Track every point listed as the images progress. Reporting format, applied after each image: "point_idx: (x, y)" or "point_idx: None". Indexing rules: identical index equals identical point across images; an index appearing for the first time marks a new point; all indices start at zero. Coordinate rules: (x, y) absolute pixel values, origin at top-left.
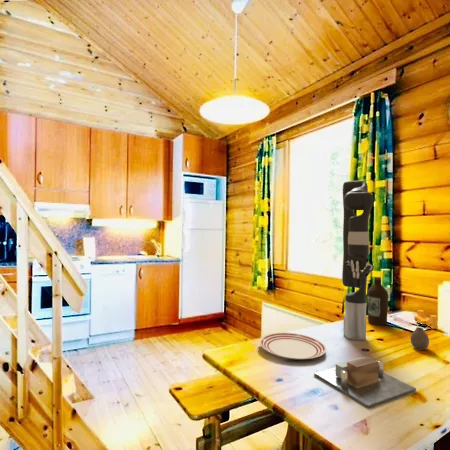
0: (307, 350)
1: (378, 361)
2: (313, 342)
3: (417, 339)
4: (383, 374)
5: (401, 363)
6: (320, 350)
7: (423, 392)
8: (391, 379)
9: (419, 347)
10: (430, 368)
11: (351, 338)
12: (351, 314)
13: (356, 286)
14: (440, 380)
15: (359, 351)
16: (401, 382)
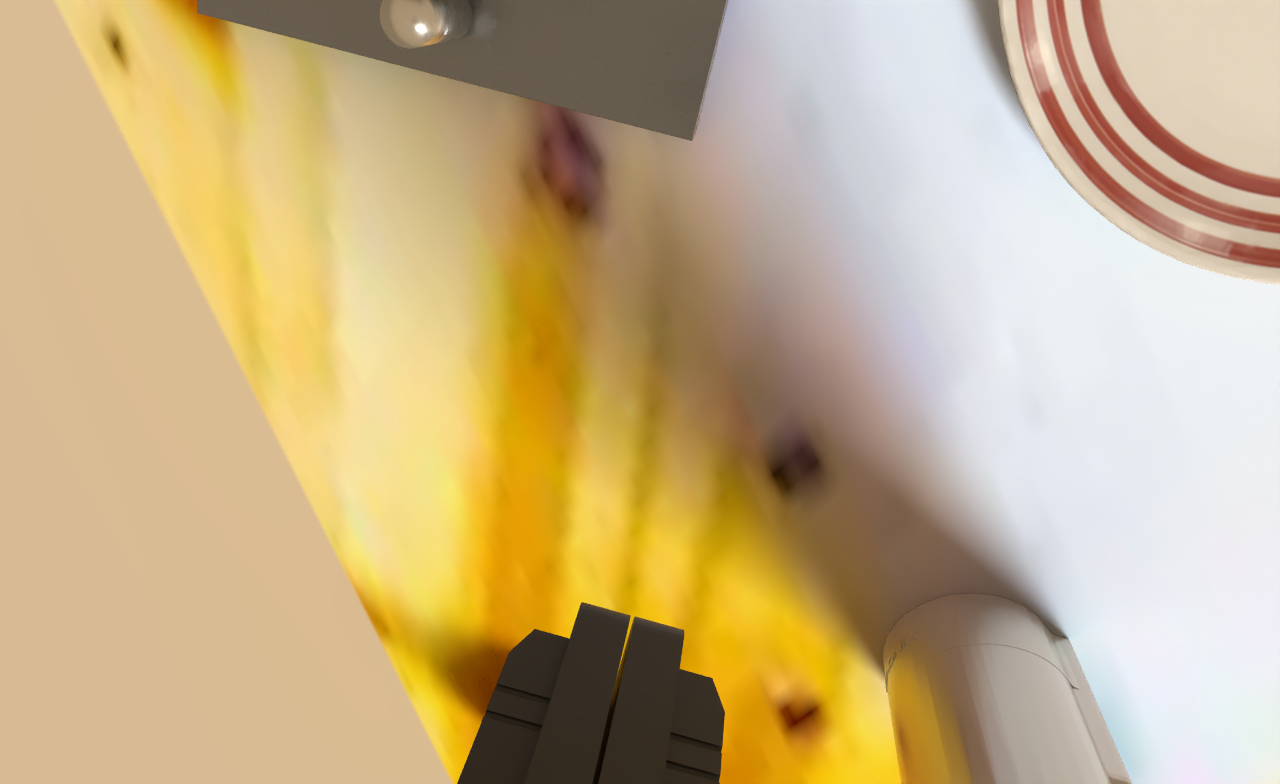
0: (1219, 15)
1: (415, 14)
2: (1233, 217)
3: None
4: (435, 45)
5: (506, 412)
6: (1082, 90)
7: (202, 65)
8: (356, 5)
9: None
10: (365, 464)
11: (974, 598)
12: (1031, 776)
13: (613, 624)
14: (248, 333)
15: (813, 404)
16: (294, 19)
